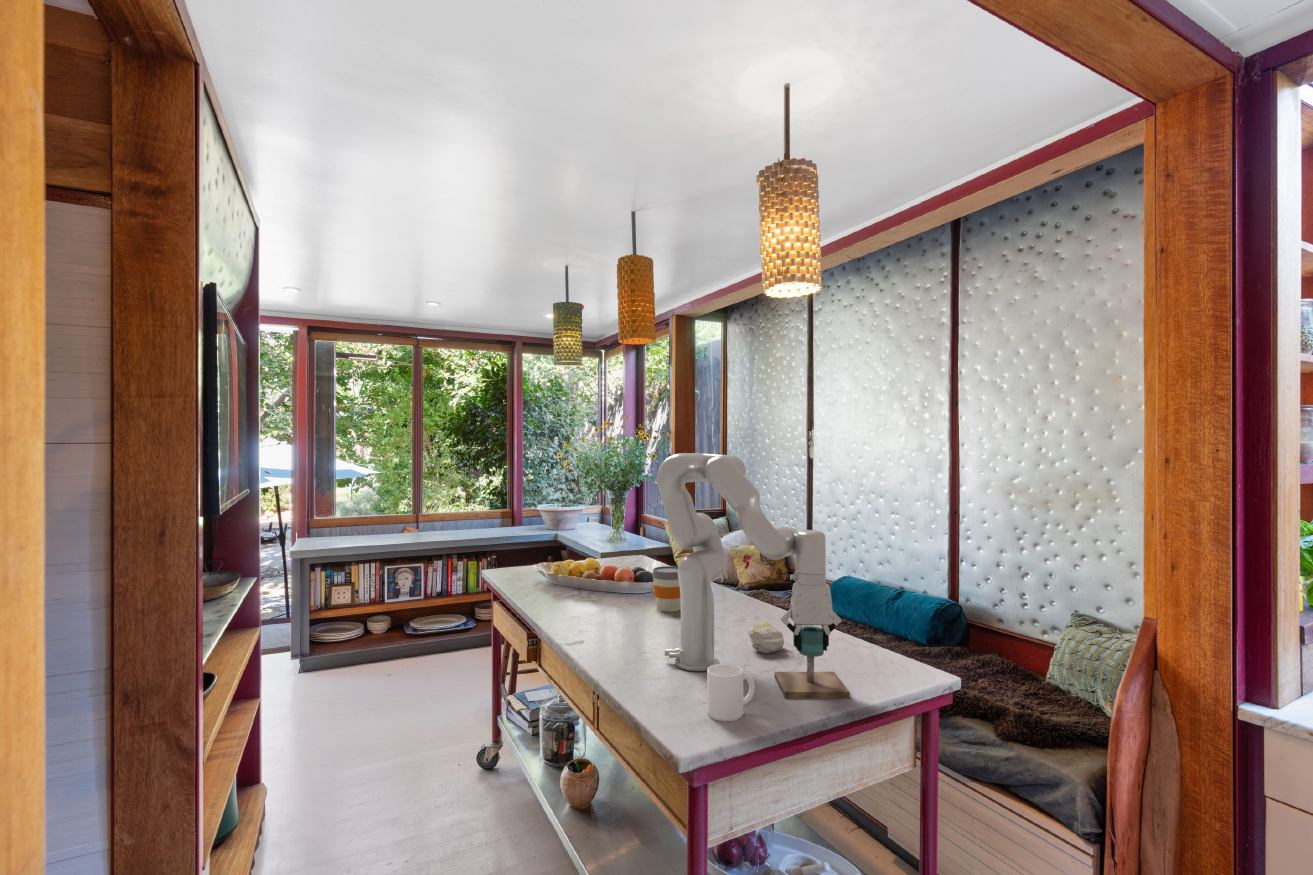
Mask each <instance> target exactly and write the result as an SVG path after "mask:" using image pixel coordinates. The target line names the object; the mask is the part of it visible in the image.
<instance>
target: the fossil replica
mask: <svg viewBox="0 0 1313 875" xmlns="http://www.w3.org/2000/svg"><path fill="white" fill-rule="evenodd" d="M747 633H748V636H749V637H750V642H751V646H752V648H753V650H755V651H758V652H760V653H762V654H770V653H771V654H772V653H774V652H780V651H781V650H782V649H783V647H784V646H785V645H784V644H785V640H784V635H783V633H782V632H781V631H779V630H778V629H777V628H776V627H775V626H774V625H773V624H772V623H771V622H768V621H767V622H759V623H753V624H752V625H750V627H749V630H748V632H747Z"/></svg>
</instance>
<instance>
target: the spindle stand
mask: <svg viewBox="0 0 1313 875" xmlns="http://www.w3.org/2000/svg"><path fill="white" fill-rule="evenodd" d="M773 673H774V679H775V681H776V683H777V686H778V687H779V689H780V691H781V693H782V695H783V697H784V699H851V691H850V690H849V689H848V688H847V686H846V685H845V684H844V682H843V681H842V680H841V679H840V677H839V676H838V675H837V673H836V672H835V671H815V657H810V656H806V671H774V672H773Z"/></svg>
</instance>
